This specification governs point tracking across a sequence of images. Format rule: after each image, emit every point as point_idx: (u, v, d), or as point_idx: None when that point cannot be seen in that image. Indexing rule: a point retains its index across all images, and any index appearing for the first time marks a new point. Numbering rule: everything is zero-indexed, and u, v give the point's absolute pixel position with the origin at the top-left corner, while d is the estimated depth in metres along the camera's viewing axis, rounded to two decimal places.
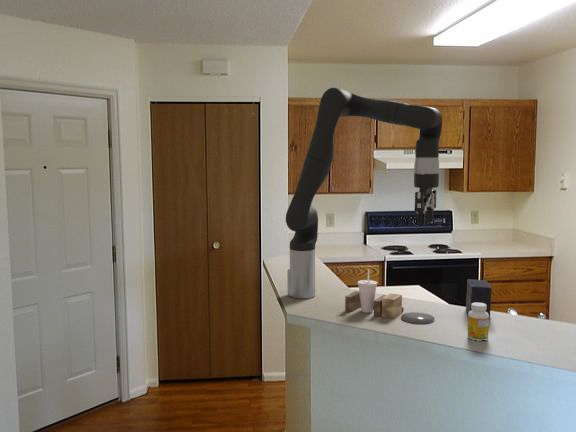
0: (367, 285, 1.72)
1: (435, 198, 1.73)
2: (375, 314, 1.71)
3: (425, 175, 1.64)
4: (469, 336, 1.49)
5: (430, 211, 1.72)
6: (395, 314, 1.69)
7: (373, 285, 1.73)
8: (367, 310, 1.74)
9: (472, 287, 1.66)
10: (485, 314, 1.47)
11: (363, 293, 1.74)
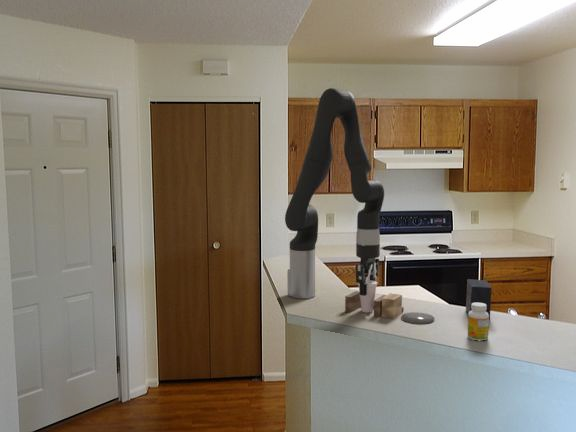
0: (367, 285, 1.72)
1: (378, 267, 1.79)
2: (375, 314, 1.71)
3: (365, 246, 1.71)
4: (469, 336, 1.49)
5: None
6: (395, 314, 1.69)
7: (373, 285, 1.73)
8: (367, 310, 1.74)
9: (472, 287, 1.66)
10: (485, 314, 1.47)
11: None
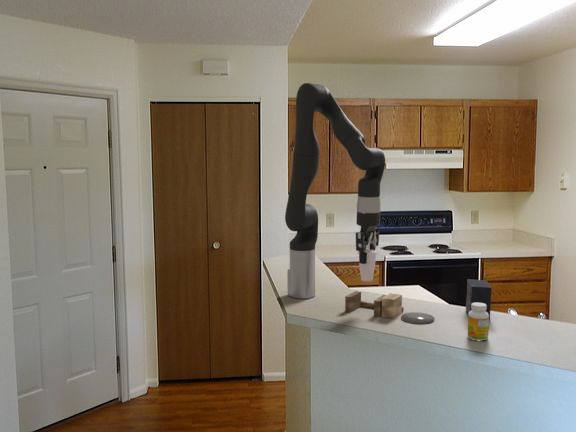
0: (367, 253, 1.71)
1: (378, 236, 1.78)
2: (375, 314, 1.71)
3: (366, 214, 1.69)
4: (469, 336, 1.49)
5: (372, 249, 1.77)
6: (395, 314, 1.69)
7: (373, 253, 1.72)
8: (367, 279, 1.74)
9: (472, 287, 1.66)
10: (485, 314, 1.47)
11: None
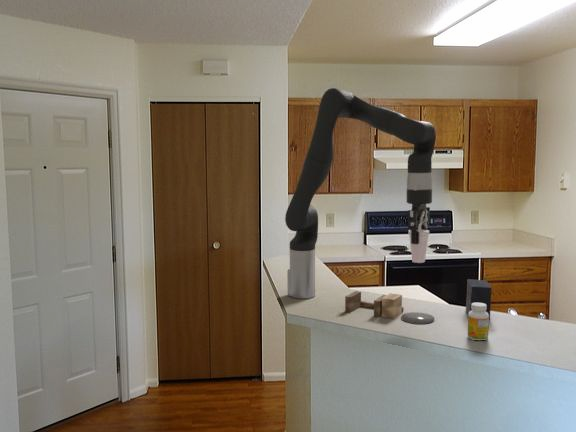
0: (419, 233, 1.62)
1: (428, 215, 1.68)
2: (375, 314, 1.71)
3: (418, 191, 1.60)
4: (469, 336, 1.49)
5: (423, 229, 1.67)
6: (395, 314, 1.69)
7: (426, 233, 1.62)
8: (419, 260, 1.64)
9: (472, 287, 1.66)
10: (485, 314, 1.47)
11: None
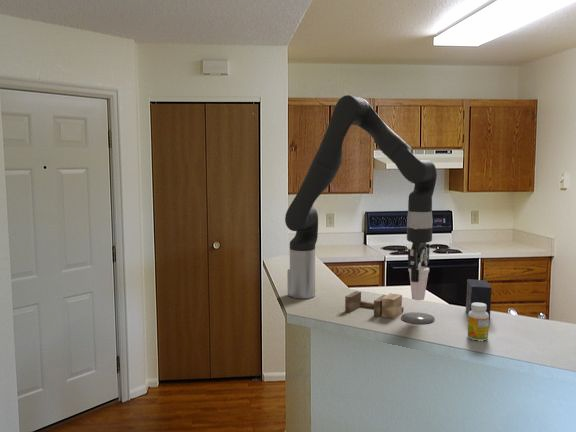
0: (419, 271, 1.63)
1: (428, 252, 1.70)
2: (375, 314, 1.71)
3: (418, 230, 1.61)
4: (469, 336, 1.49)
5: (423, 266, 1.68)
6: (395, 314, 1.69)
7: (426, 271, 1.63)
8: (419, 297, 1.65)
9: (472, 287, 1.66)
10: (485, 314, 1.47)
11: None
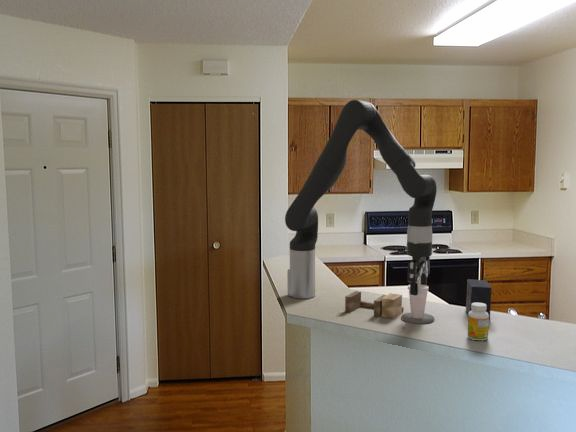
0: (419, 289, 1.64)
1: (428, 264, 1.70)
2: (375, 314, 1.71)
3: (418, 244, 1.61)
4: (469, 336, 1.49)
5: (423, 278, 1.69)
6: (395, 314, 1.69)
7: (425, 289, 1.64)
8: (418, 316, 1.66)
9: (472, 287, 1.66)
10: (485, 314, 1.47)
11: (414, 297, 1.65)
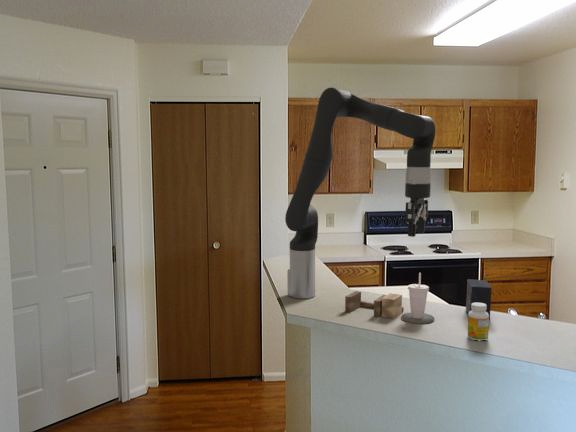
0: (419, 289, 1.64)
1: (427, 208, 1.70)
2: (375, 314, 1.71)
3: (416, 185, 1.61)
4: (469, 336, 1.49)
5: (421, 221, 1.69)
6: (395, 314, 1.69)
7: (425, 289, 1.64)
8: (418, 316, 1.66)
9: (472, 287, 1.66)
10: (485, 314, 1.47)
11: (414, 297, 1.65)
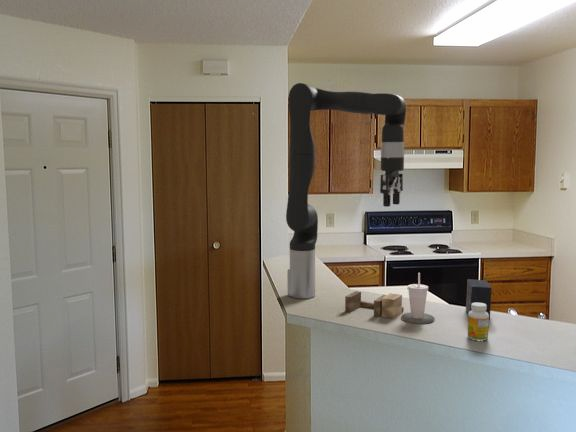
0: (418, 289, 1.64)
1: (401, 181, 1.83)
2: (375, 314, 1.71)
3: (390, 159, 1.74)
4: (469, 336, 1.49)
5: (397, 194, 1.82)
6: (395, 314, 1.69)
7: (424, 289, 1.64)
8: (418, 316, 1.66)
9: (472, 287, 1.66)
10: (485, 314, 1.47)
11: (413, 297, 1.65)
